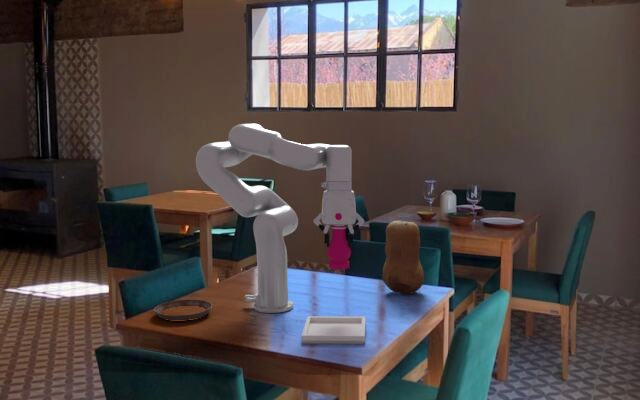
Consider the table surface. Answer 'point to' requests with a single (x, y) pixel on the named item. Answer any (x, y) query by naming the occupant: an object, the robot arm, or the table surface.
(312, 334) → the tray
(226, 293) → the table surface
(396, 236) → the butternut squash
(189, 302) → the plant saucer
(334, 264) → the pepper mill
